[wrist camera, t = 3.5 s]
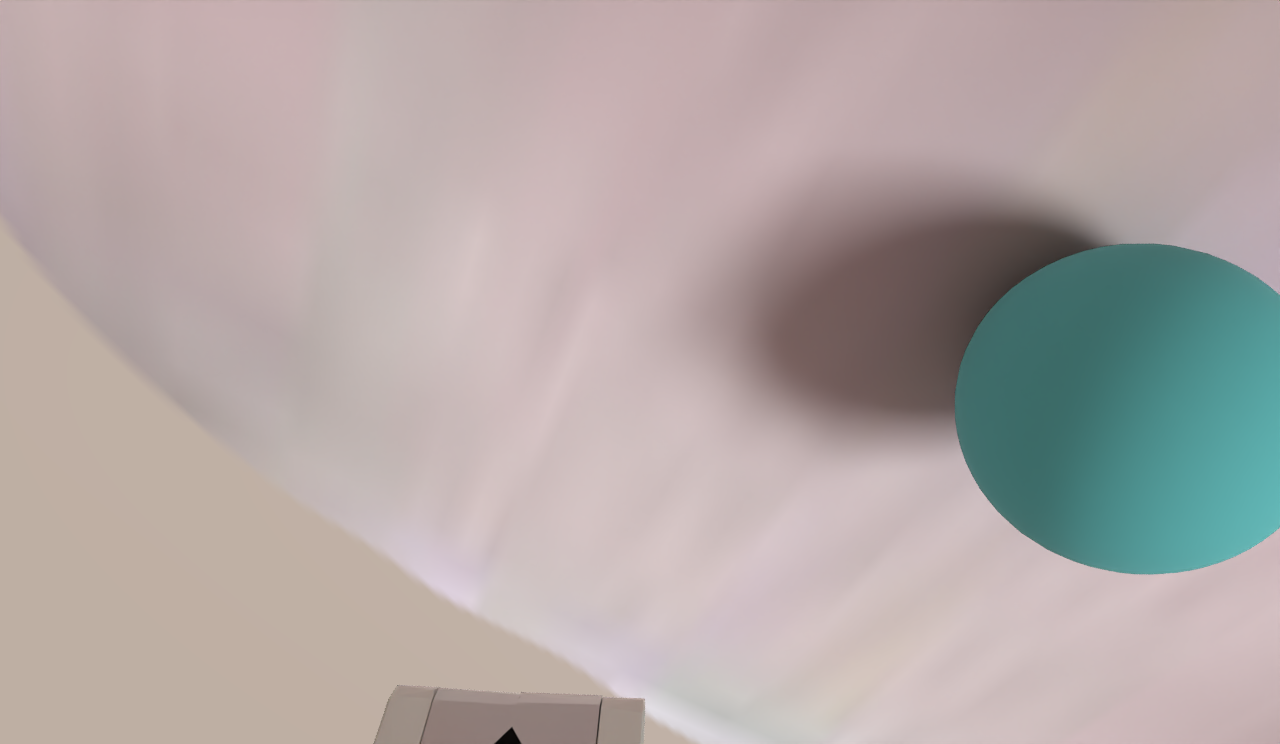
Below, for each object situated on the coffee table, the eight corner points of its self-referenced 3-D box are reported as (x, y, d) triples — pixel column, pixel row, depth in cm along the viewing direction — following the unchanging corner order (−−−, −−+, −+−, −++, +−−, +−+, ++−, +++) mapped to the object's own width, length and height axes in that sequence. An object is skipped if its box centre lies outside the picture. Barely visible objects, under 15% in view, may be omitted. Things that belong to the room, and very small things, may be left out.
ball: (1278, 196, 17) (1514, 373, 12) (1166, 441, 20) (1314, 657, 15) (960, 184, 17) (1061, 352, 12) (903, 427, 20) (964, 635, 16)
